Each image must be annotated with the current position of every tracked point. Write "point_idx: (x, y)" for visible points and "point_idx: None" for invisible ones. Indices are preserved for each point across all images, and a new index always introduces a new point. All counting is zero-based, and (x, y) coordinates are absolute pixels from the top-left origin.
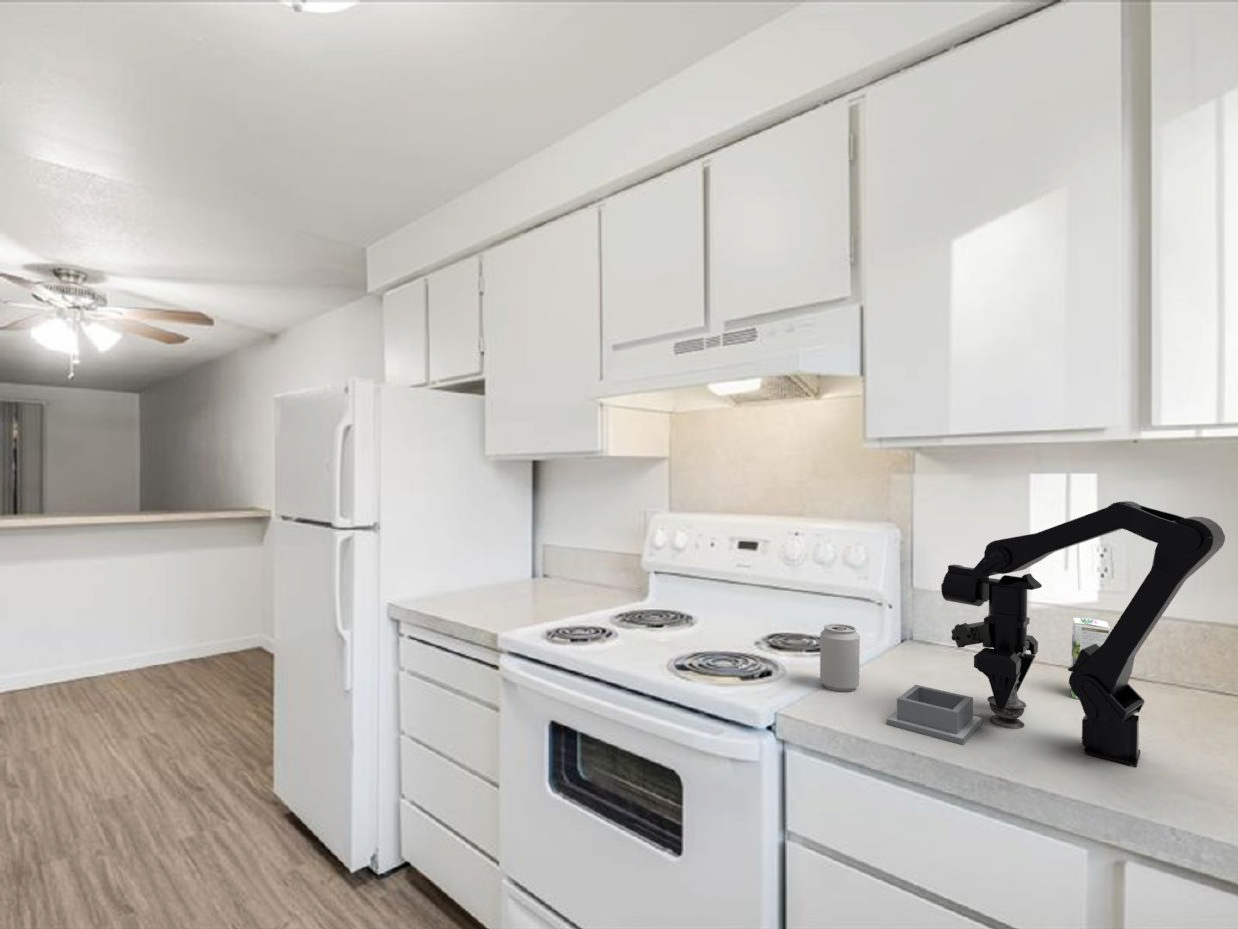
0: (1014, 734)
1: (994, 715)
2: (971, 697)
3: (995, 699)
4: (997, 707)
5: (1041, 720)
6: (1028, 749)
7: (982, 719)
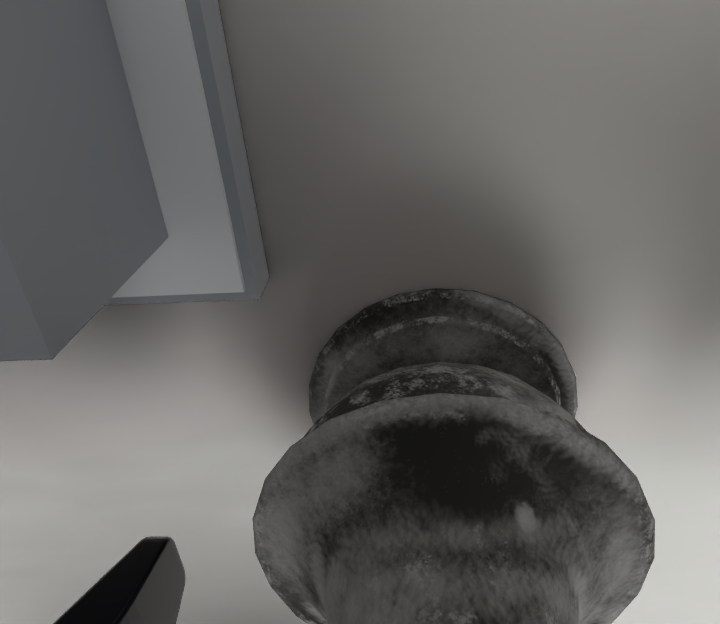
0: (232, 482)
1: (470, 334)
2: (21, 347)
3: (70, 618)
4: (142, 543)
5: (678, 551)
6: (69, 562)
7: (252, 294)
